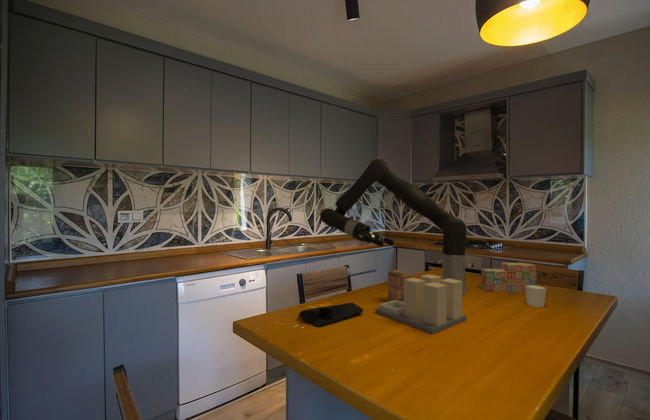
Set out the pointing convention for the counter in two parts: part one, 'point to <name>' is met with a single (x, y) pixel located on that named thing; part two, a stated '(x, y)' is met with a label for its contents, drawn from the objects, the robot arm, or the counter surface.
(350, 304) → the dark slate chunk
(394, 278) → the terracotta pillar
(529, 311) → the counter surface
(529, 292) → the beige piece
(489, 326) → the counter surface
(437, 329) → the pillar board
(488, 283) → the stack of blocks
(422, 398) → the counter surface
